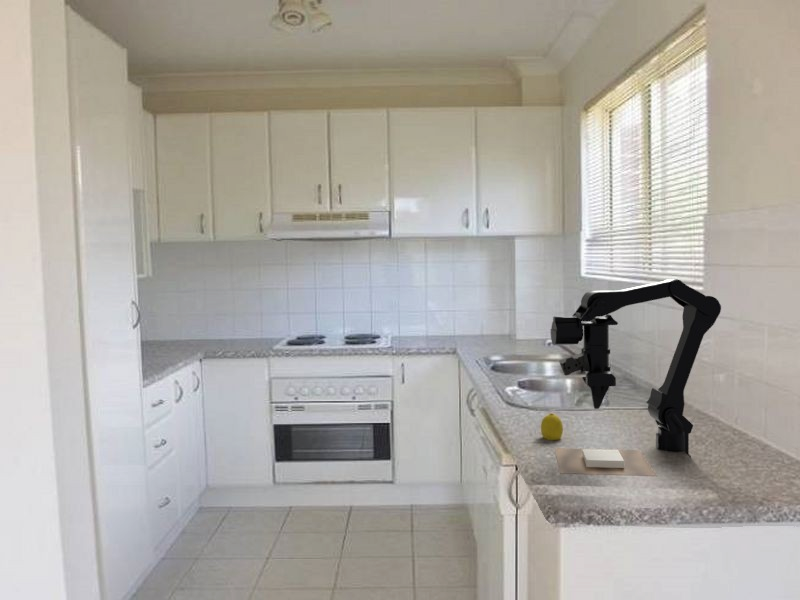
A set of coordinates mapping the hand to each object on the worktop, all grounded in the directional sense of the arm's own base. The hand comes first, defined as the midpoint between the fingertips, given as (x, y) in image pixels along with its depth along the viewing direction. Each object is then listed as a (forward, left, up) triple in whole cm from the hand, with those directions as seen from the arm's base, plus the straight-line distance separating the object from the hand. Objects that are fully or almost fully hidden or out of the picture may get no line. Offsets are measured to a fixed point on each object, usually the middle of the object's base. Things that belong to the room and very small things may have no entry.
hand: (596, 408), depth 152 cm
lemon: (+10, -10, -12) cm, 18 cm away
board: (0, +8, -12) cm, 14 cm away
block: (0, +5, -9) cm, 11 cm away
